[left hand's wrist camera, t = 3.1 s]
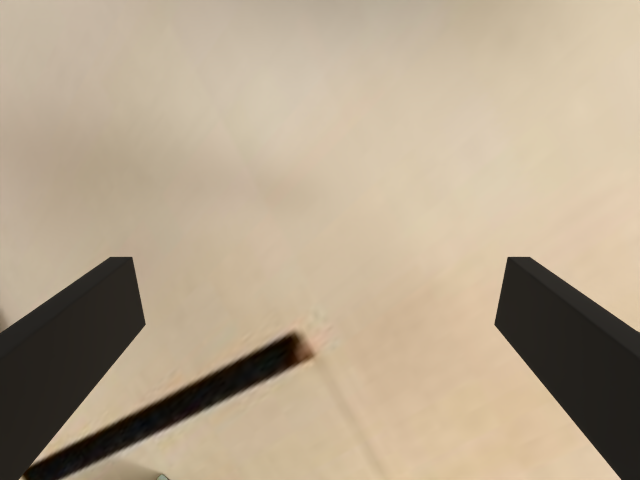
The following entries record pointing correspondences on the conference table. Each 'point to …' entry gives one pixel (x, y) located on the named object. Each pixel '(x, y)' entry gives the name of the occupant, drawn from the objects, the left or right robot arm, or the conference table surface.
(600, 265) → the conference table surface
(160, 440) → the conference table surface
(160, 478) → the chest
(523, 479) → the conference table surface
